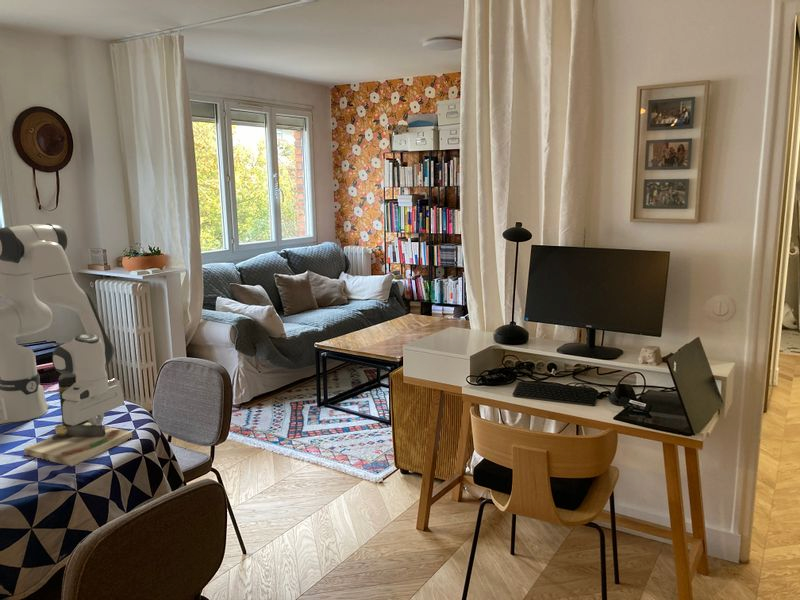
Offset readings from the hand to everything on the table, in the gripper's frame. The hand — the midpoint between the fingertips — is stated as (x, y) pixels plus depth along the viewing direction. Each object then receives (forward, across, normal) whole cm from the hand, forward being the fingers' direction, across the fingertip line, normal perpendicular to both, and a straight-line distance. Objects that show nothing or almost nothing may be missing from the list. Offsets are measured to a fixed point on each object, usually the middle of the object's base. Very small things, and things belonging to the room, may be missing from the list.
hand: (97, 428), depth 196 cm
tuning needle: (+1, +3, -3) cm, 5 cm away
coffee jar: (+4, -6, -16) cm, 18 cm away
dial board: (+4, +6, -2) cm, 7 cm away
